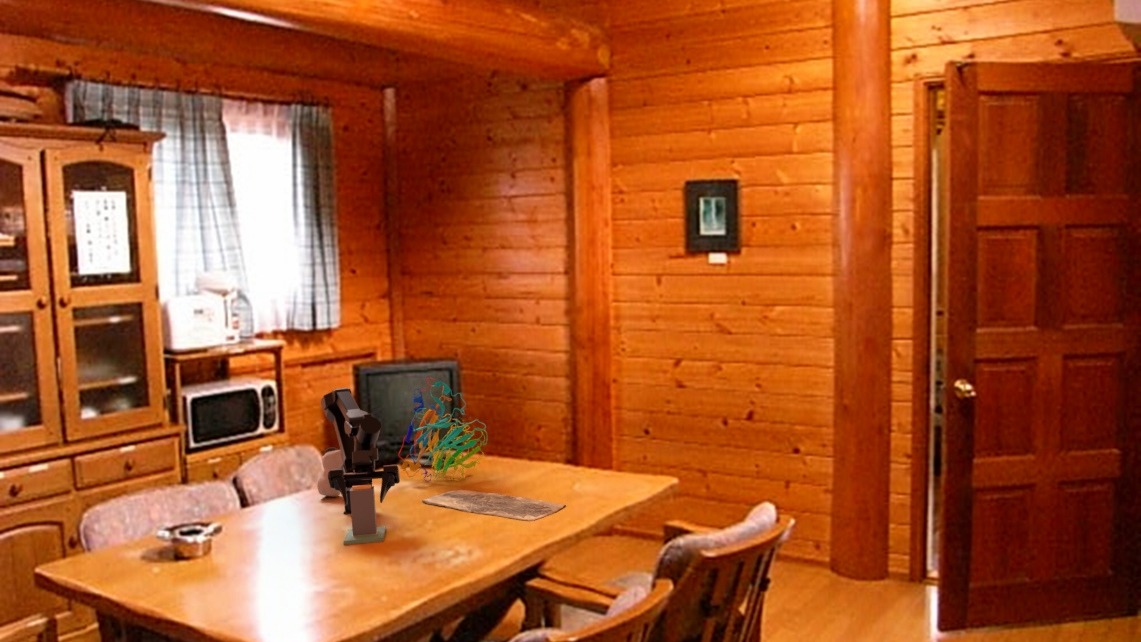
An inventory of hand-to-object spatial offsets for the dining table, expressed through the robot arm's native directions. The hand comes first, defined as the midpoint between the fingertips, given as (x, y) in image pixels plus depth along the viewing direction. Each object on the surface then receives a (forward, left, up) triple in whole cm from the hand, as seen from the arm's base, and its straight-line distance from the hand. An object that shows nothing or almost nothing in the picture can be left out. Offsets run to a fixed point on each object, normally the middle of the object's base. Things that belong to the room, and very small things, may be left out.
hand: (363, 503), depth 269 cm
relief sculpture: (+32, +25, -9) cm, 41 cm away
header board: (+1, -3, -8) cm, 9 cm away
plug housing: (+1, -3, -7) cm, 8 cm away
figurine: (-21, +45, -9) cm, 51 cm away
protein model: (+12, +64, -9) cm, 66 cm away
